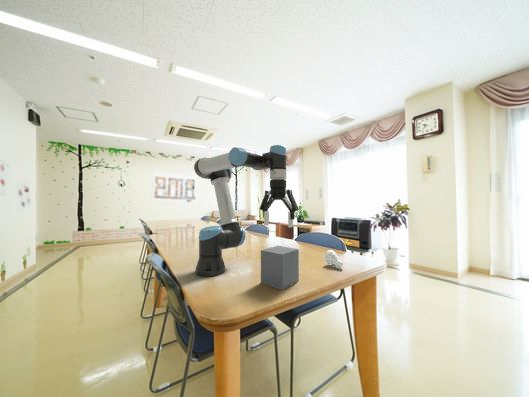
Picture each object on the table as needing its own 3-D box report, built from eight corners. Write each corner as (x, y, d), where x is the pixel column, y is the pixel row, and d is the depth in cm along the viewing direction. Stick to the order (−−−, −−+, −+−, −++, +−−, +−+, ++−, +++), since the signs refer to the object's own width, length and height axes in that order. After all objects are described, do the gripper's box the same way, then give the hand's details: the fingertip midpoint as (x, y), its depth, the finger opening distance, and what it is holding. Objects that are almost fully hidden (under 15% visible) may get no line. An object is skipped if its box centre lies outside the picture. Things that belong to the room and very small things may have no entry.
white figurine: (332, 248, 122) (347, 255, 110) (331, 262, 122) (346, 270, 111) (323, 249, 120) (337, 256, 108) (323, 263, 120) (336, 272, 109)
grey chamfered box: (260, 282, 92) (260, 250, 92) (277, 275, 102) (277, 245, 102) (282, 289, 84) (282, 254, 85) (298, 280, 94) (298, 249, 95)
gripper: (252, 180, 99) (252, 224, 98) (297, 176, 83) (297, 229, 82) (262, 182, 104) (262, 223, 104) (306, 178, 88) (306, 227, 88)
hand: (277, 226), depth 93 cm, fingers open, 13 cm apart
